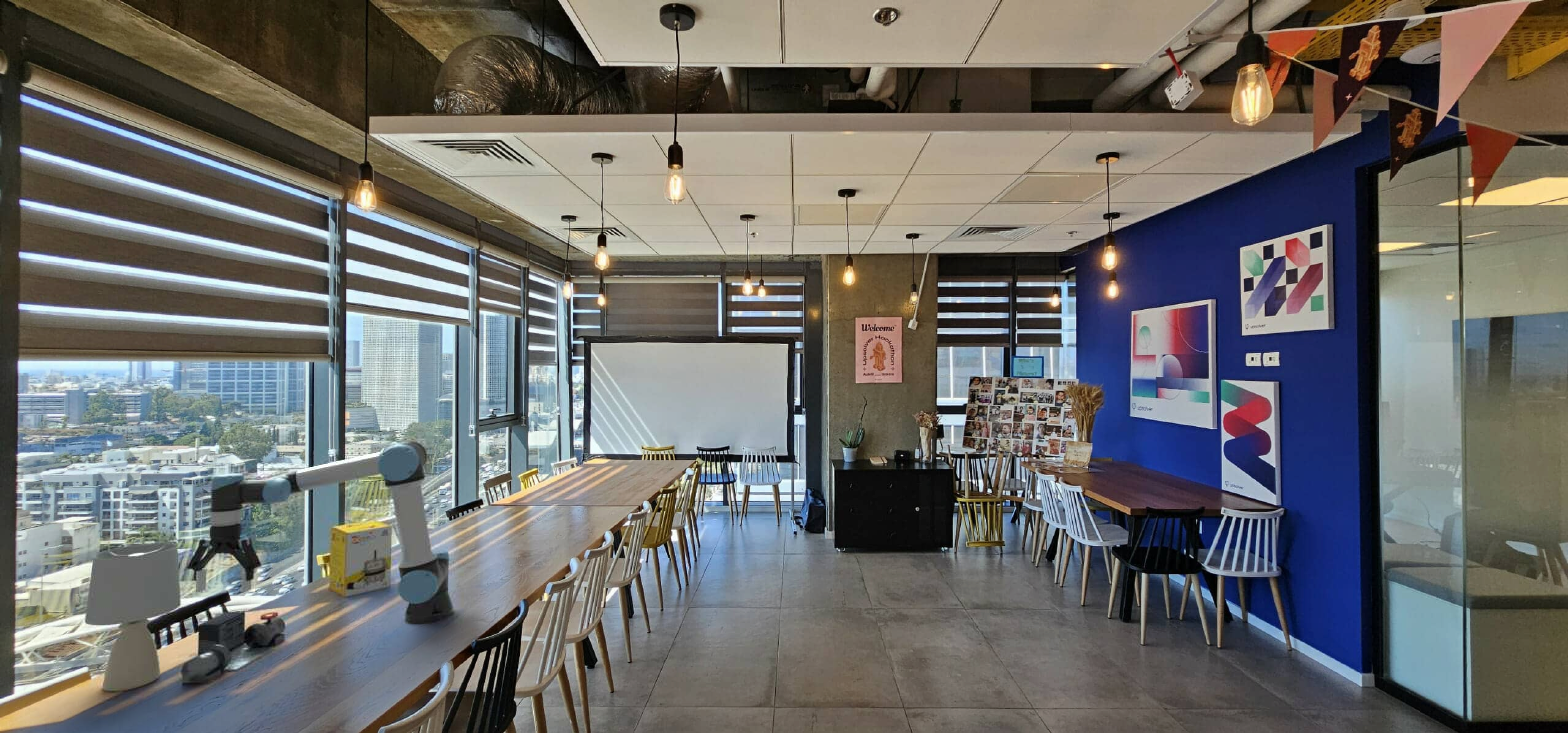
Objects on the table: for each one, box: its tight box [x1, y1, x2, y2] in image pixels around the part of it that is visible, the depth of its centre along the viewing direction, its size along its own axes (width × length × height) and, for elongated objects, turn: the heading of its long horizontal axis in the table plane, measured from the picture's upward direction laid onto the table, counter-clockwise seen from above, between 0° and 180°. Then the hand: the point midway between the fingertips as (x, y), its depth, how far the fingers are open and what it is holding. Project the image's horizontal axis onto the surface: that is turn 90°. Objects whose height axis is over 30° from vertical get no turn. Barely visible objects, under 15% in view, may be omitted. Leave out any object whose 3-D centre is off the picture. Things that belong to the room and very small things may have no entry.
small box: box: [197, 610, 246, 656], centre depth 195 cm, size 11×6×10 cm, turn 5°
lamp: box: [84, 542, 182, 693], centre depth 174 cm, size 19×19×37 cm
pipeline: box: [180, 611, 286, 684], centre depth 188 cm, size 31×11×9 cm, turn 4°
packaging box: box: [328, 519, 393, 598], centre depth 254 cm, size 16×16×25 cm
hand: (223, 591), depth 195 cm, fingers open, 13 cm apart
